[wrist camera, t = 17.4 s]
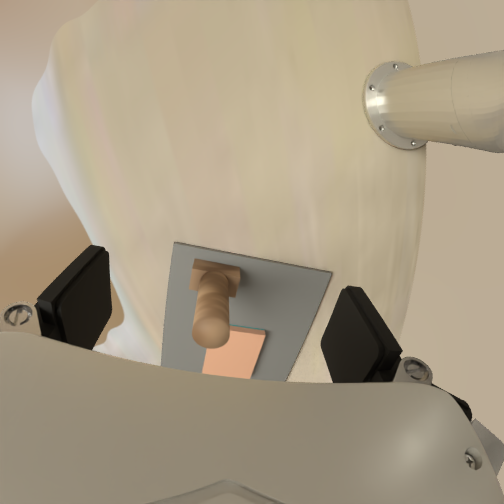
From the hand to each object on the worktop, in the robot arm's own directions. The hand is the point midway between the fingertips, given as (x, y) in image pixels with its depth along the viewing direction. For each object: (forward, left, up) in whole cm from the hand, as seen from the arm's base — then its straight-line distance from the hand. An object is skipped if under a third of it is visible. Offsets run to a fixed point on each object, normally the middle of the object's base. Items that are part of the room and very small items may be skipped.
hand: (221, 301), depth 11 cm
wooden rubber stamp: (-1, +12, -25) cm, 28 cm away
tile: (-6, +25, -24) cm, 35 cm away
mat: (-6, +21, -26) cm, 33 cm away
